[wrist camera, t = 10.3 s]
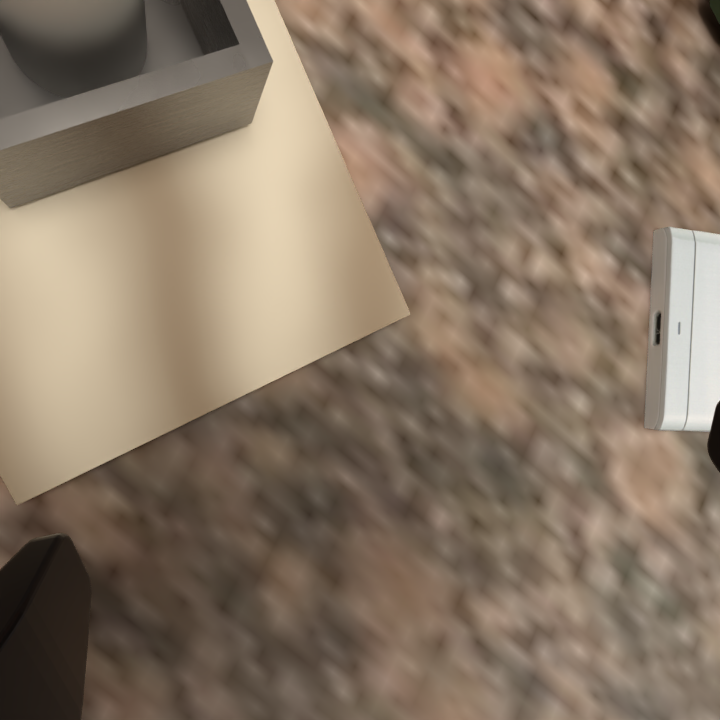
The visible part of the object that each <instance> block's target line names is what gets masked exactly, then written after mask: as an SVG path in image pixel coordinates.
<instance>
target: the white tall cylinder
mask: <svg viewBox="0 0 720 720" xmlns="http://www.w3.org/2000/svg"><path fill="white" fill-rule="evenodd" d="M0 35H1V37H2V39H3V41H4V43H5V45H6V47H7V49H8V50H9V52H10V54H11V56H12V58H13V60H14V61H15V62H16V64H17V65H18V67H19V68H20V69H21V70H22V71H23V72H24V73H25V75H26V76H28V77H29V78H30V79H31V80H32V81H33V82H35V83H36V84H38V85H39V86H40V87H42V88H44V89H45V90H47V91H49V92H51V93H54V94H56V95H59V96H61V97H65V98H69V97H72V96H75V95H78V94H82V93H85V92H88V91H91V90H95V89H98V88H101V87H104V86H107V85H111V84H114V83H117V82H120V81H123V80H127V79H130V78H133V77H136V76H138V74H139V73H140V71H141V69H142V67H143V64H144V61H145V58H146V53H147V31H146V16H145V2H144V0H0Z"/></svg>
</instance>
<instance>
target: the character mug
mask: <svg viewBox="0 0 720 720" xmlns="http://www.w3.org/2000/svg"><path fill="white" fill-rule="evenodd" d="M710 7H711V9H712V11H713V13H714V15H715V17H716V18H717V20H718V22H719V24H720V0H710Z"/></svg>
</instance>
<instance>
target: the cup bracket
mask: <svg viewBox="0 0 720 720" xmlns="http://www.w3.org/2000/svg"><path fill="white" fill-rule="evenodd" d="M144 2H145V16H146V31H147V53H146V58H145V61H144V64H143V67H142V69H141V71H140V73H139V74H138V76H136V77H133V78H130V79H127V80H123V81H120V82H117V83H114V84H111V85H107V86H104V87H101V88H98V89H95V90H91V91H88V92H85V93H82V94H78V95H75V96H72V97H69V98H65V97H61V96H59V95H56V94H54V93H51V92H49V91H47V90H45V89H44V88H42V87H40V86H39V85H38V84H36V83H35V82H33V81H32V80H31V79H30V78H29V77H28V76H26V75H25V73H24V72H23V71H22V70H21V69H20V68H19V67H18V65H17V64H16V62H15V61H14V60H13V58H12V56H11V54H10V52H9V50H8V49H7V47H6V45H5V43H4V41H3V39H2V37H1V35H0V199H1V200H2V201H3V202H4V203H5V204H6V205H7V206H8V207H9V208H13V207H16V206H18V205H21V204H24V203H27V202H30V201H33V200H35V199H38V198H41V197H44V196H47V195H50V194H52V193H55V192H58V191H61V190H64V189H67V188H69V187H72V186H75V185H78V184H81V183H84V182H86V181H89V180H92V179H95V178H98V177H101V176H103V175H106V174H109V173H112V172H115V171H118V170H120V169H123V168H126V167H129V166H132V165H135V164H137V163H140V162H143V161H146V160H149V159H152V158H154V157H157V156H160V155H163V154H166V153H169V152H171V151H174V150H177V149H180V148H183V147H186V146H188V145H191V144H194V143H197V142H200V141H203V140H205V139H208V138H211V137H214V136H217V135H220V134H222V133H225V132H228V131H231V130H234V129H237V128H239V127H242V126H245V125H248V124H251V123H252V121H253V118H254V115H255V112H256V109H257V106H258V104H259V101H260V98H261V95H262V92H263V89H264V86H265V84H266V81H267V78H268V75H269V72H270V69H271V66H272V64H273V59H272V57H271V55H270V53H269V50H268V48H267V46H266V44H265V41H264V39H263V37H262V35H261V32H260V30H259V28H258V25H257V23H256V21H255V19H254V16H253V14H252V12H251V10H250V7H249V5H248V3H247V0H144Z"/></svg>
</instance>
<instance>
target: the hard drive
mask: <svg viewBox="0 0 720 720" xmlns="http://www.w3.org/2000/svg"><path fill="white" fill-rule="evenodd" d="M719 401H720V234H714V233H708V232H702V231H694V230H687V229H680V228H673V227H666V228H661V229H658V230H654V232H653V254H652V276H651V296H650V317H649V337H648V359H647V380H646V401H645V420H644V428H649V429H654V430H668V431H701V432H710V429H711V425H712V421H713V416H714V412H715V408H716V405H717V403H718V402H719Z"/></svg>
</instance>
